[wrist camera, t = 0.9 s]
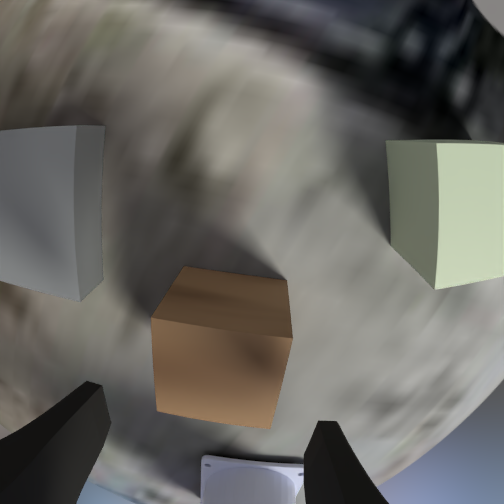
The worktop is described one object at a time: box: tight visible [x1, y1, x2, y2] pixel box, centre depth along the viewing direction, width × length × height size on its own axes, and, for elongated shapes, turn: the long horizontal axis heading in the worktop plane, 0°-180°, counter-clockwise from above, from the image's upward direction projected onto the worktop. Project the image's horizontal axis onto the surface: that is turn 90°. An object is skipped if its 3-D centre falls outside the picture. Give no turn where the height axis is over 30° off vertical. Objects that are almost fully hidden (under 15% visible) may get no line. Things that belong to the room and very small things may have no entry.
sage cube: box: [385, 140, 504, 290], centre depth 11 cm, size 5×5×5 cm
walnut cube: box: [151, 266, 293, 429], centre depth 14 cm, size 5×5×5 cm
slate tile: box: [0, 125, 106, 302], centre depth 14 cm, size 8×8×3 cm
